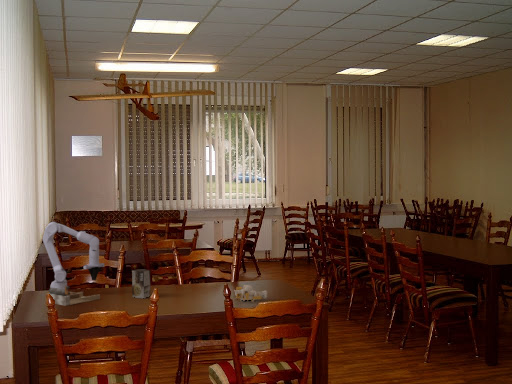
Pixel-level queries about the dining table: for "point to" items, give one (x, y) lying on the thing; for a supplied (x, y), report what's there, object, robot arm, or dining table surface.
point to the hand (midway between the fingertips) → (94, 280)
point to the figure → (249, 293)
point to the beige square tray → (74, 295)
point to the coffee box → (140, 283)
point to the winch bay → (64, 299)
